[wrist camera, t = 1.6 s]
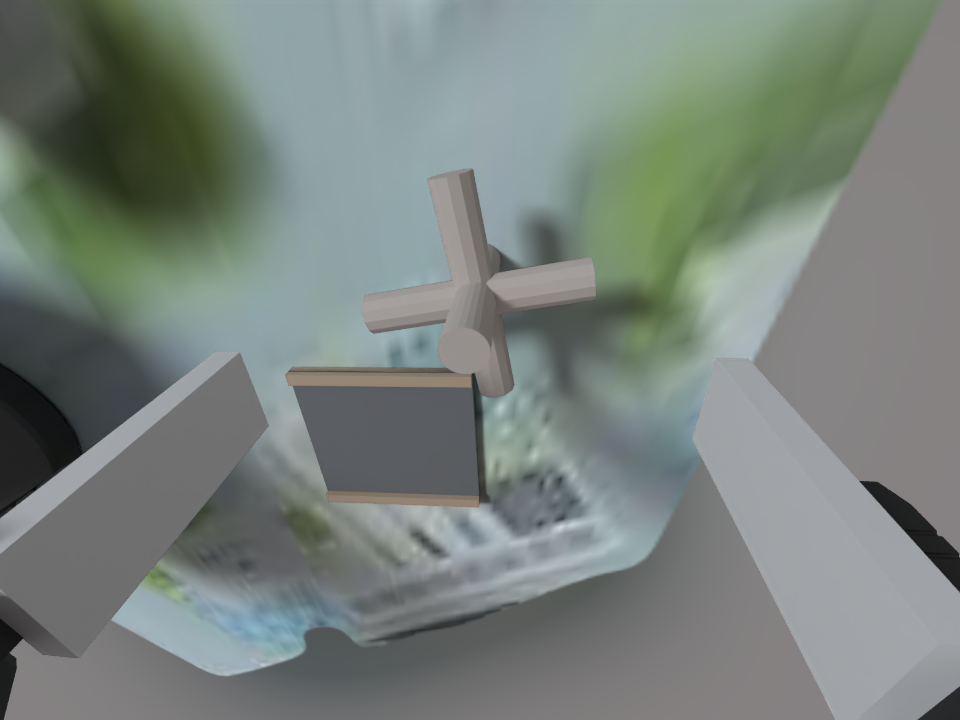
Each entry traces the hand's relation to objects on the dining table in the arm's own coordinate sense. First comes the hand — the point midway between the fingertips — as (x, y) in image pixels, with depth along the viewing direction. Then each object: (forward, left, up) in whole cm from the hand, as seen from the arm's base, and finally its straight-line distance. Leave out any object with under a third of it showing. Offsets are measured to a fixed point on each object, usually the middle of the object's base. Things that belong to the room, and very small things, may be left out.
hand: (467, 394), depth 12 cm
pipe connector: (0, 0, -13) cm, 13 cm away
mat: (-7, -13, -13) cm, 19 cm away
